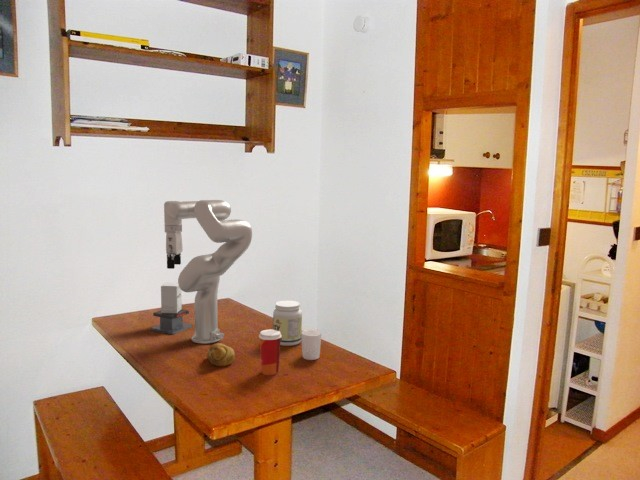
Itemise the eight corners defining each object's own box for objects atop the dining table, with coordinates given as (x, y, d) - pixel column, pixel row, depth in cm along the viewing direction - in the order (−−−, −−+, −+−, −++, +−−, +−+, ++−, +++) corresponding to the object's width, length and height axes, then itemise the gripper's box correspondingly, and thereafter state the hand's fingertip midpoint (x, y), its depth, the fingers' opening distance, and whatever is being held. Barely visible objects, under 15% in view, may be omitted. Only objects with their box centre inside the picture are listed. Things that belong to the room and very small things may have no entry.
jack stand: (192, 327, 241) (191, 310, 240) (172, 334, 230) (172, 317, 229) (170, 322, 247) (170, 306, 246) (150, 330, 235) (149, 313, 234)
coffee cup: (269, 366, 196) (270, 327, 194) (286, 371, 191) (286, 332, 189) (253, 372, 189) (253, 332, 187) (269, 378, 184) (269, 337, 182)
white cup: (303, 361, 201) (303, 336, 200) (298, 354, 209) (299, 330, 207) (323, 359, 203) (323, 334, 202) (318, 352, 211) (318, 328, 210)
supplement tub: (268, 339, 226) (268, 301, 224) (294, 335, 231) (294, 298, 229) (279, 348, 215) (280, 308, 213) (306, 344, 221) (307, 305, 218)
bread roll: (202, 358, 202) (202, 338, 201) (226, 354, 207) (226, 335, 206) (213, 370, 191) (213, 349, 190) (238, 365, 196) (238, 344, 195)
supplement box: (177, 313, 234) (176, 286, 232) (160, 313, 234) (160, 285, 232) (182, 309, 241) (181, 282, 239) (166, 309, 241) (165, 282, 240)
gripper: (176, 231, 225) (176, 270, 228) (186, 226, 242) (187, 263, 245) (158, 230, 225) (159, 269, 228) (170, 226, 242) (171, 262, 245)
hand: (174, 266), depth 236 cm, fingers open, 9 cm apart
